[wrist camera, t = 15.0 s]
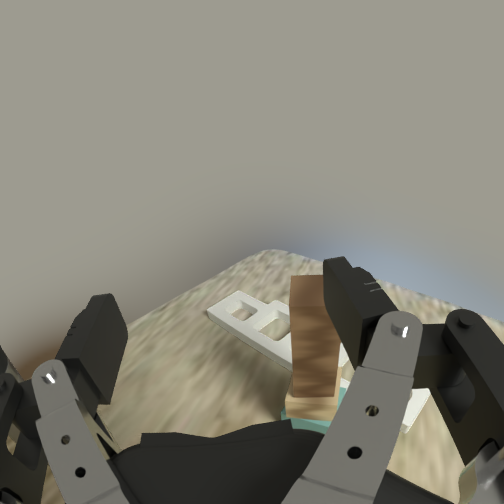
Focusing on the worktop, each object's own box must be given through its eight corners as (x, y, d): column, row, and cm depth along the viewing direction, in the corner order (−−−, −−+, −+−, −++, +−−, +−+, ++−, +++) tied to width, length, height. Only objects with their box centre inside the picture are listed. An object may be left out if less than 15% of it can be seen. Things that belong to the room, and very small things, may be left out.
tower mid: (286, 417, 37) (284, 400, 35) (295, 381, 43) (294, 363, 41) (335, 421, 35) (337, 405, 33) (340, 384, 41) (342, 366, 39)
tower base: (282, 426, 40) (280, 412, 38) (301, 392, 45) (301, 376, 43) (327, 440, 36) (329, 427, 35) (344, 403, 42) (346, 388, 40)
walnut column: (293, 397, 36) (288, 306, 28) (295, 367, 40) (291, 275, 32) (334, 396, 35) (343, 305, 27) (332, 366, 39) (339, 274, 32)
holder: (208, 319, 65) (206, 309, 64) (268, 281, 75) (266, 272, 74) (405, 435, 34) (409, 426, 33) (448, 358, 44) (452, 347, 43)
